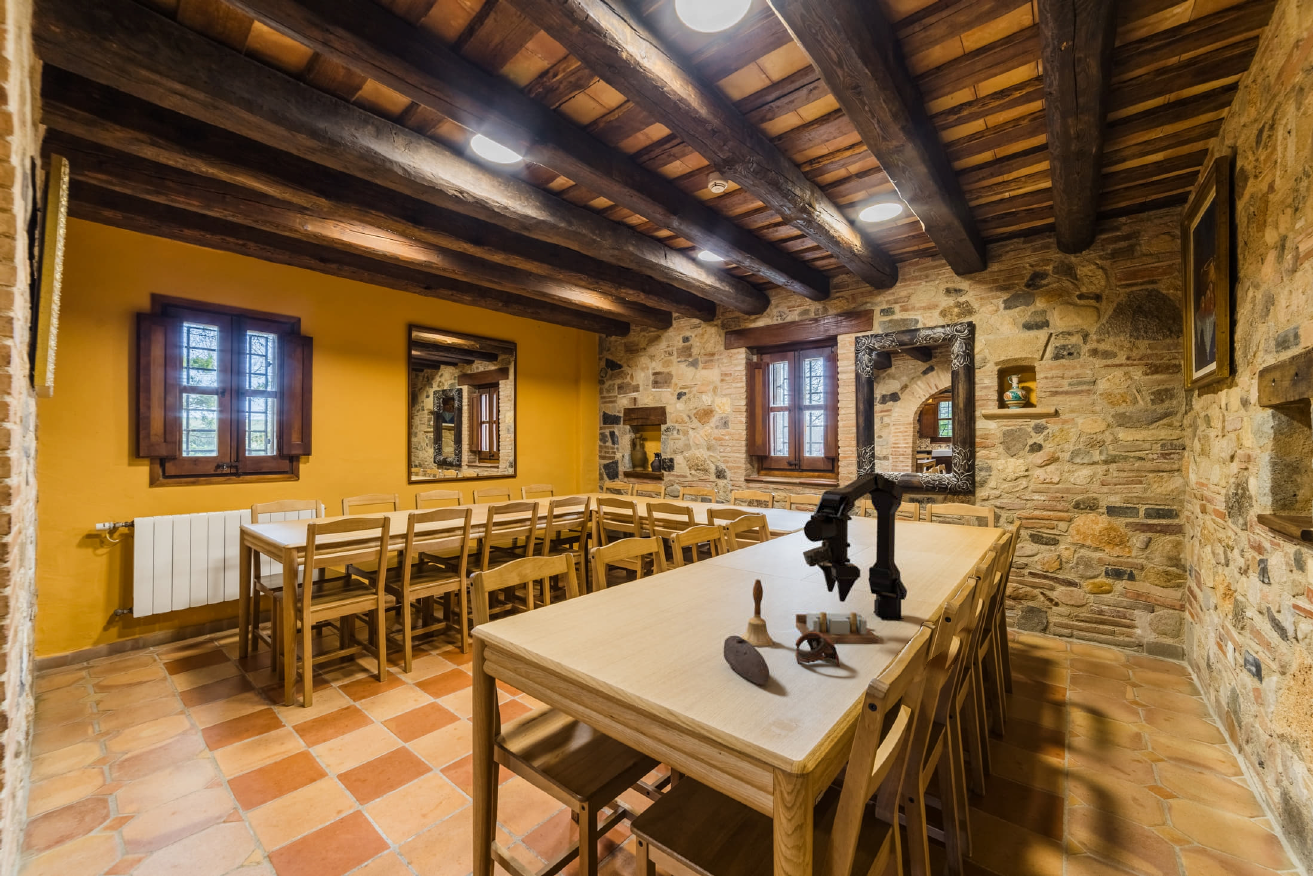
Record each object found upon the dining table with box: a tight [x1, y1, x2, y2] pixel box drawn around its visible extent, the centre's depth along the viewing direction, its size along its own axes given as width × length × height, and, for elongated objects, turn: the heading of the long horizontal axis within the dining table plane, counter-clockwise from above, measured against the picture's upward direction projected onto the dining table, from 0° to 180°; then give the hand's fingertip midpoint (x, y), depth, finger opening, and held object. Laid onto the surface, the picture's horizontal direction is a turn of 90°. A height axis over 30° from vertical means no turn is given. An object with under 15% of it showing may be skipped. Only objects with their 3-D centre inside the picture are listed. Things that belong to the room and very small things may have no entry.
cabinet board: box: [795, 611, 879, 644], centre depth 144 cm, size 18×12×6 cm, turn 90°
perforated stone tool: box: [723, 635, 771, 686], centre depth 118 cm, size 15×5×7 cm, turn 21°
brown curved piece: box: [795, 630, 841, 667], centre depth 126 cm, size 12×10×8 cm
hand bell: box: [740, 579, 774, 648], centre depth 139 cm, size 8×8×16 cm
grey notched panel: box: [806, 612, 868, 634], centre depth 143 cm, size 14×6×4 cm, turn 91°
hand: (836, 596), depth 143 cm, fingers open, 9 cm apart
